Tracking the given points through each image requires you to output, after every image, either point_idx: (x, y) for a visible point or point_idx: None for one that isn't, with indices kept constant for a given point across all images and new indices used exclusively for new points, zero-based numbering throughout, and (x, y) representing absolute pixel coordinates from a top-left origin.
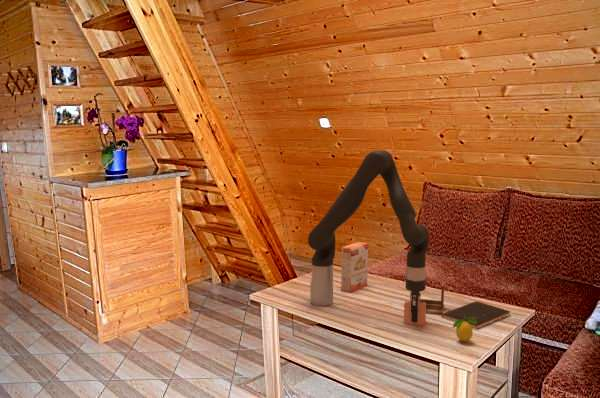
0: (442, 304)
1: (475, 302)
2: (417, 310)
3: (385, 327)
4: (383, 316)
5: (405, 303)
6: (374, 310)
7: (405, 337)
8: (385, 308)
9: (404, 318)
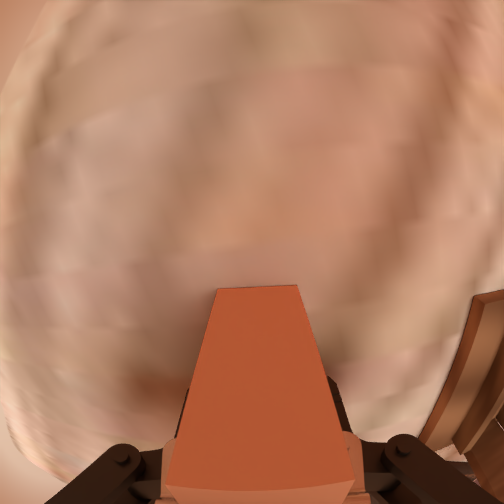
0: (468, 455)
1: (472, 478)
2: (123, 502)
3: (66, 144)
4: (340, 61)
5: (174, 493)
6: (437, 7)
7: (7, 314)
8: (501, 96)
9: (210, 318)
